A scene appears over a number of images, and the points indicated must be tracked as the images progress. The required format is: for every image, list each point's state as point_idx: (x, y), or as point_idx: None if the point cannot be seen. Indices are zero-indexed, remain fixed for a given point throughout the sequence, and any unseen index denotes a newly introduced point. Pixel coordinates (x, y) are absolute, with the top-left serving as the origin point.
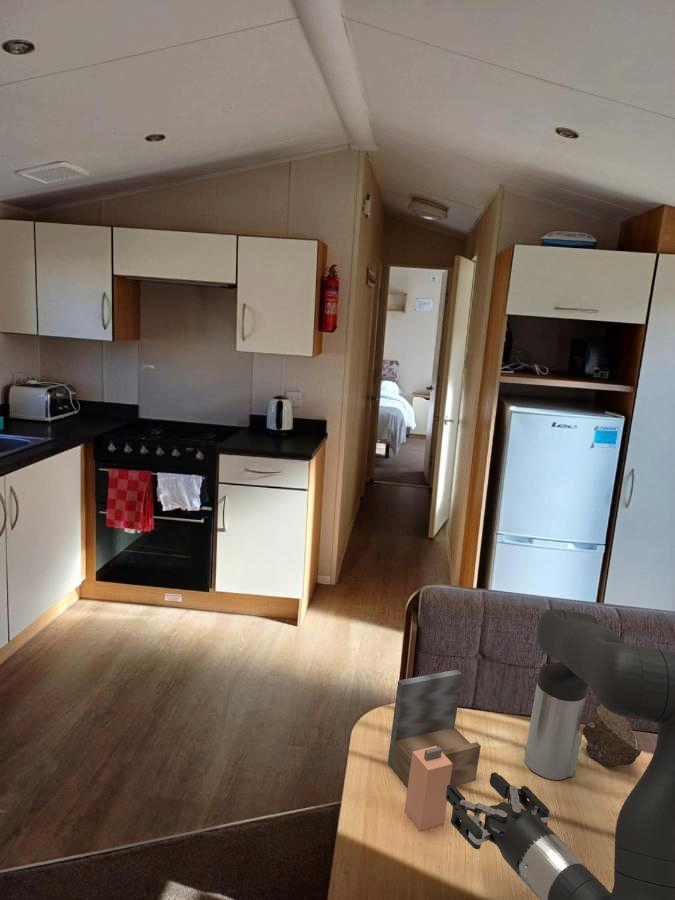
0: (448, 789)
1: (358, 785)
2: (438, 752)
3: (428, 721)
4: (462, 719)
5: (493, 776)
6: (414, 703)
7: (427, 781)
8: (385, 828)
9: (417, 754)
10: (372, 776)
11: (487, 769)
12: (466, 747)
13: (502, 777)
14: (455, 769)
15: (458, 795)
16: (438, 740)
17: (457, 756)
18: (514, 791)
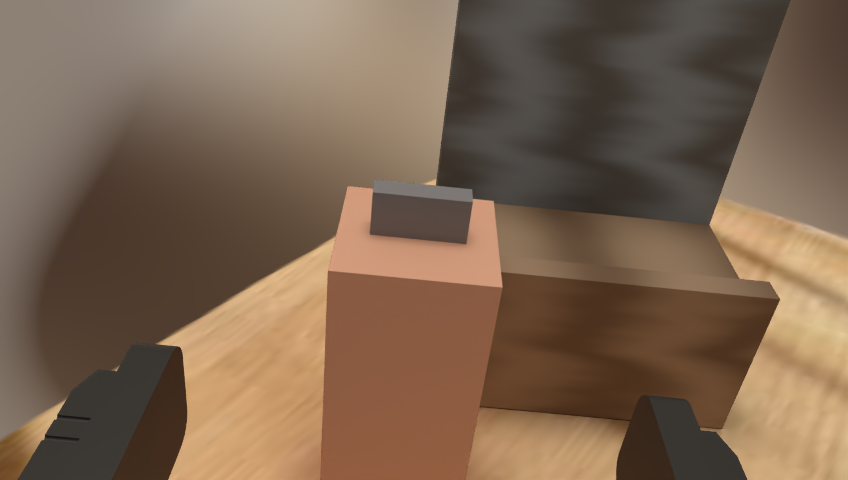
0: (106, 378)
1: (262, 300)
2: (449, 211)
3: (590, 163)
4: (784, 246)
5: (647, 427)
6: (527, 61)
7: (330, 330)
8: (195, 465)
9: (357, 201)
10: None
11: (798, 410)
12: (702, 285)
13: (736, 466)
14: (627, 358)
15: (69, 461)
16: (608, 240)
17: (644, 307)
18: None
